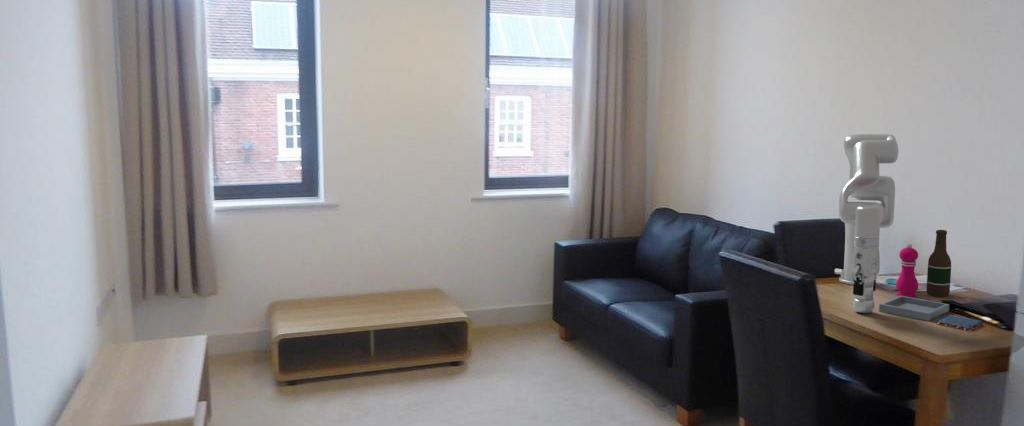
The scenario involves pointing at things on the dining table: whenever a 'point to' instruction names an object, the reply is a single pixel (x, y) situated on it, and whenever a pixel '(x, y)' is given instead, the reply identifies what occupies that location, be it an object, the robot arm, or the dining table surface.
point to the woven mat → (959, 322)
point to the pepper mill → (907, 273)
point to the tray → (914, 308)
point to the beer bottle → (939, 268)
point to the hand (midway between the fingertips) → (864, 292)
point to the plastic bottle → (865, 295)
